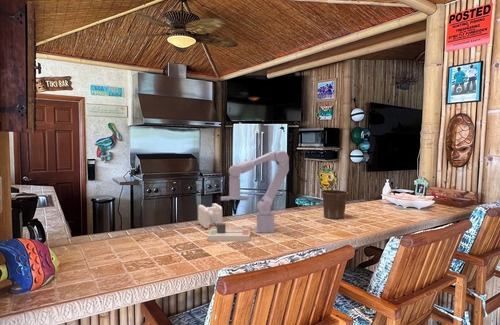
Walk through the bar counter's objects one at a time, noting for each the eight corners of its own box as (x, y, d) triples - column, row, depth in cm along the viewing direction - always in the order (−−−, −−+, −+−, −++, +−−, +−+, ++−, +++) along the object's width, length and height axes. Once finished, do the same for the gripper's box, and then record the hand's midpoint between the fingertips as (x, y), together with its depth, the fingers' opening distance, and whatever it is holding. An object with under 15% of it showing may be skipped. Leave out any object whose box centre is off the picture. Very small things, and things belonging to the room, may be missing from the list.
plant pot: (350, 216, 200) (351, 191, 199) (343, 221, 186) (344, 194, 185) (325, 213, 209) (326, 189, 208) (317, 218, 195) (317, 192, 194)
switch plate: (250, 233, 162) (250, 229, 162) (249, 241, 150) (249, 236, 150) (211, 233, 162) (211, 229, 162) (207, 241, 150) (207, 235, 150)
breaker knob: (225, 230, 157) (225, 223, 157) (225, 232, 154) (225, 224, 154) (217, 230, 157) (217, 223, 157) (216, 232, 154) (216, 224, 154)
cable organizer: (223, 228, 174) (223, 207, 173) (204, 230, 169) (204, 208, 168) (214, 221, 187) (214, 202, 186) (197, 223, 183) (197, 204, 182)
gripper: (220, 189, 161) (220, 215, 161) (248, 189, 160) (248, 215, 161) (221, 187, 168) (221, 212, 168) (248, 187, 167) (248, 212, 168)
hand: (234, 214), depth 165 cm, fingers closed
